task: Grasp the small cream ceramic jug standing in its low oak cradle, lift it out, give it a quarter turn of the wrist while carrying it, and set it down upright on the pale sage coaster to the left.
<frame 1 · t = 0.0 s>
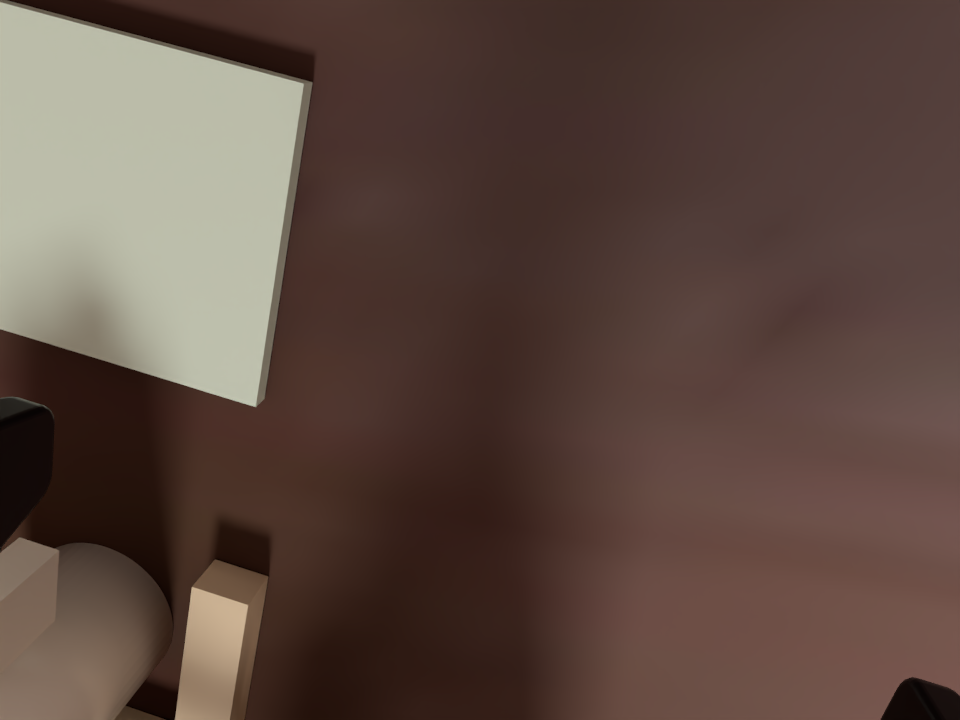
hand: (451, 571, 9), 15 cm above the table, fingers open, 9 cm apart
sage coaster: (132, 207, 25), on the table
cream jug: (11, 672, 25), in the oak cradle
oak cradle: (100, 611, 30), on the table
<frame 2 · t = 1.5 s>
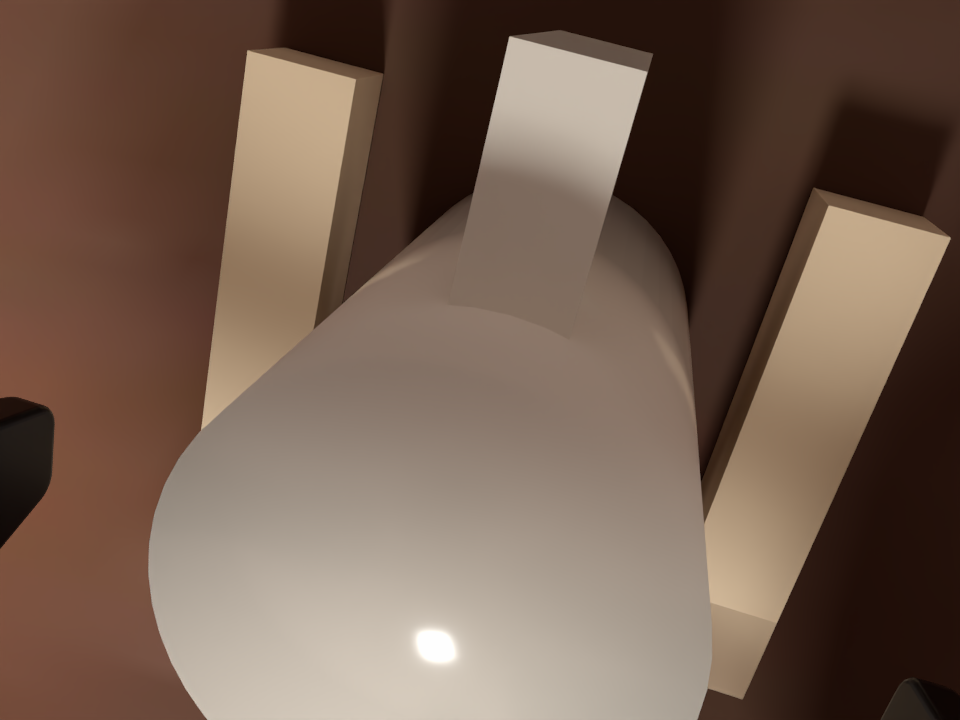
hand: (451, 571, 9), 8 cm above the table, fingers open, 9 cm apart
cream jug: (520, 343, 12), in the oak cradle
oak cradle: (540, 320, 16), on the table
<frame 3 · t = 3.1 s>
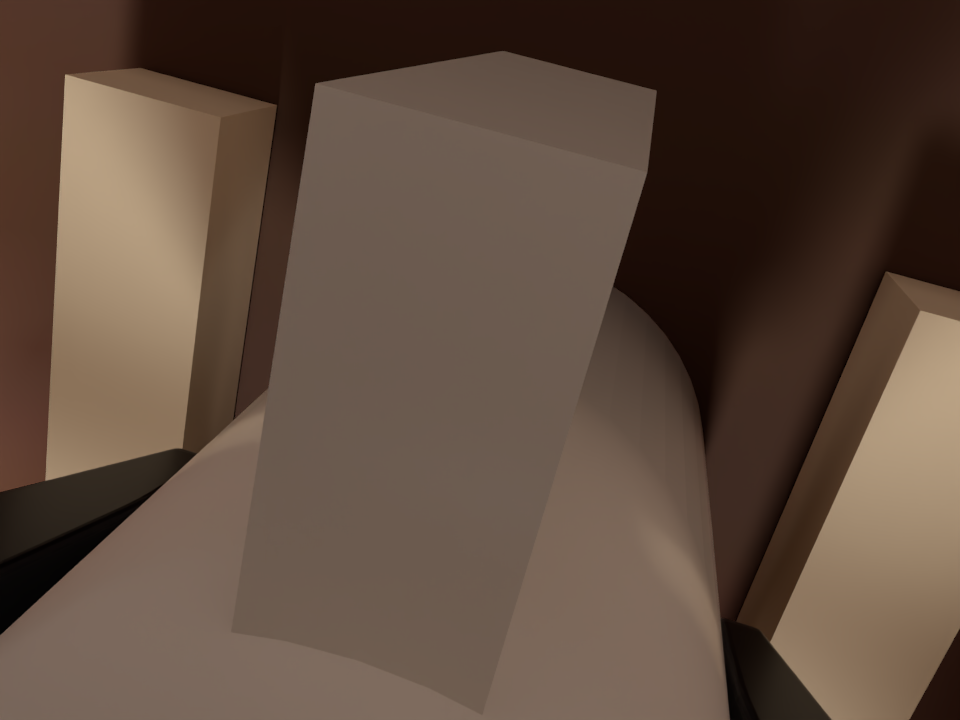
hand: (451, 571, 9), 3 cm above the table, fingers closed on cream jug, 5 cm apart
cream jug: (443, 552, 7), in the oak cradle, touching gripper
oak cradle: (501, 442, 12), on the table
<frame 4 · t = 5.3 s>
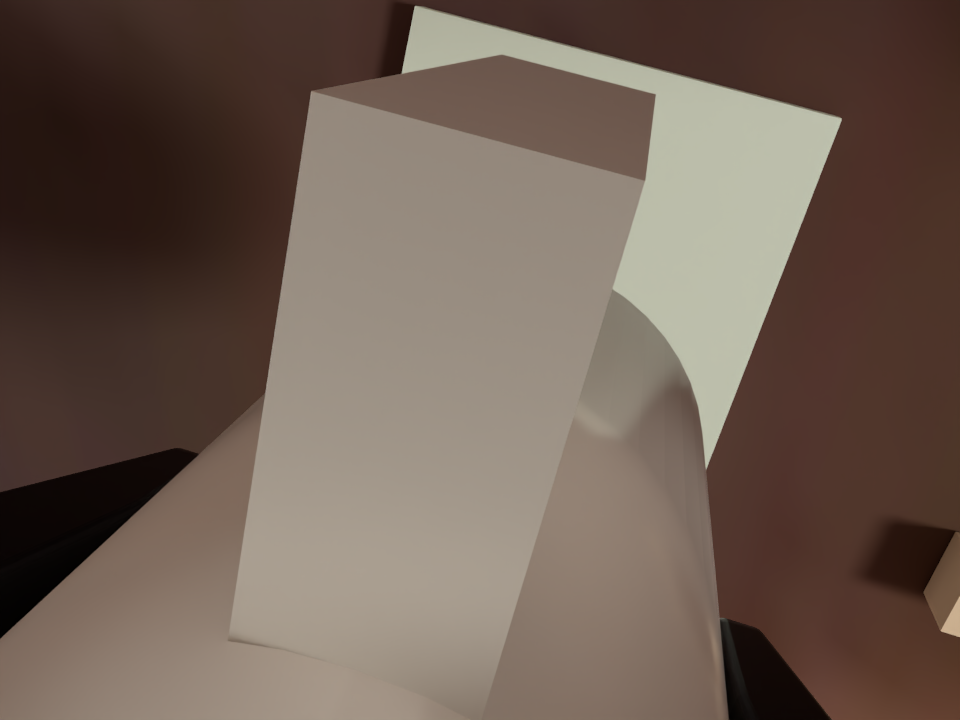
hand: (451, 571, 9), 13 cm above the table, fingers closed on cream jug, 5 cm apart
sage coaster: (567, 260, 21), on the table
cream jug: (442, 557, 7), point 14 cm above the table, touching gripper
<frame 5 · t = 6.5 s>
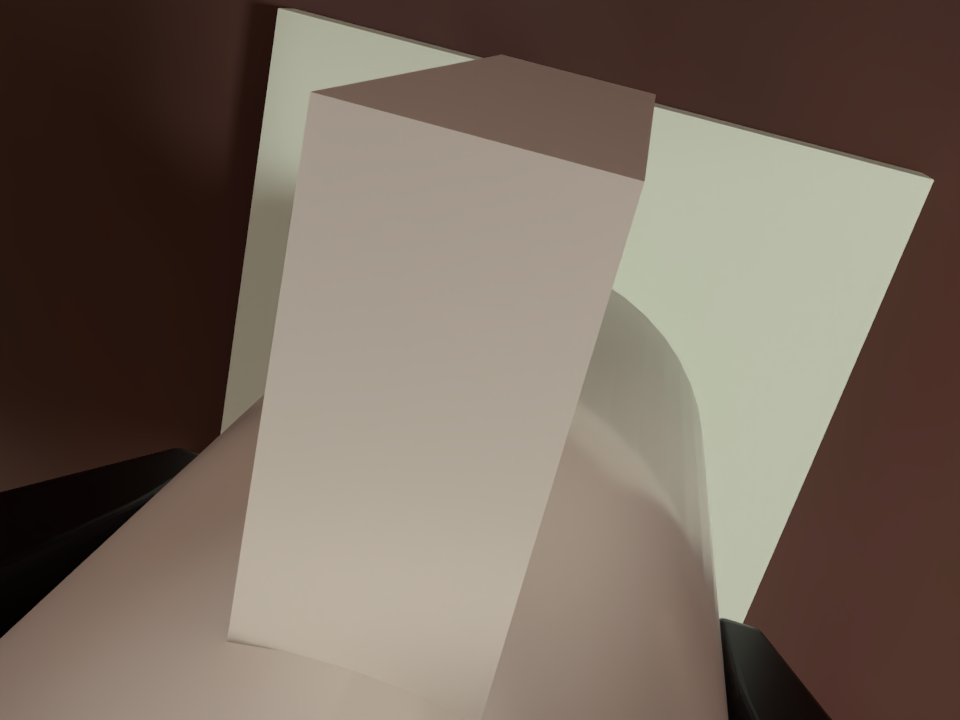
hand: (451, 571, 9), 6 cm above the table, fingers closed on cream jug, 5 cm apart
sage coaster: (519, 375, 14), on the table
cream jug: (441, 557, 7), point 7 cm above the table, touching gripper
when the fingers open (4 cm above the table, at t = 7.6 s): cream jug stays where it is, resting on sage coaster.
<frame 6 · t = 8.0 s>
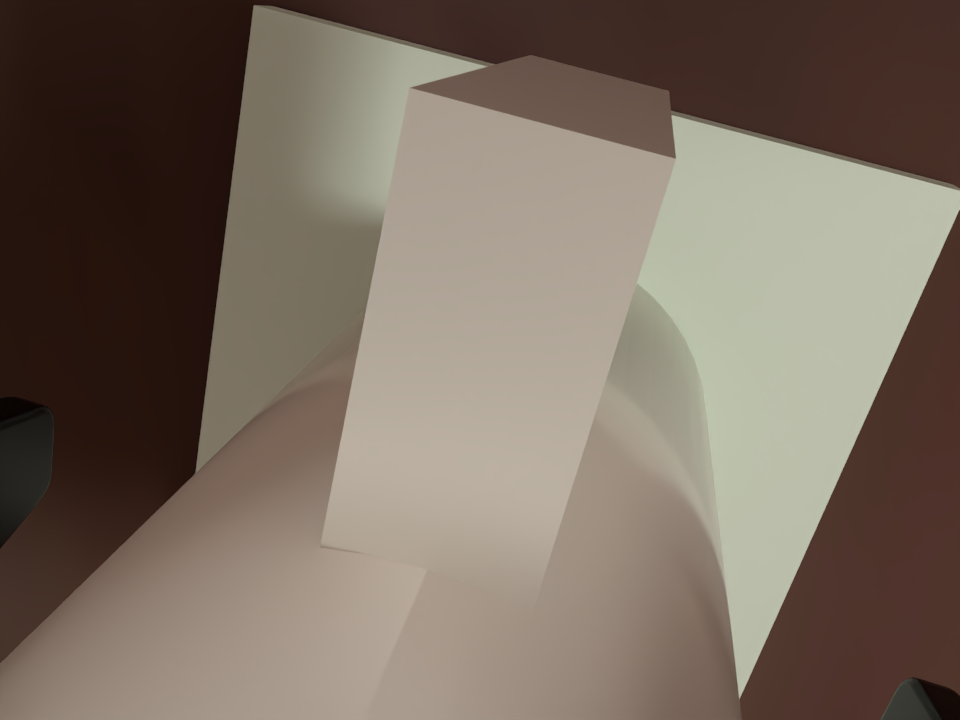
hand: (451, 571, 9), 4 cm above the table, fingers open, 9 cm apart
sage coaster: (515, 399, 13), on the table
cream jug: (475, 507, 8), on the sage coaster, point 5 cm above the table
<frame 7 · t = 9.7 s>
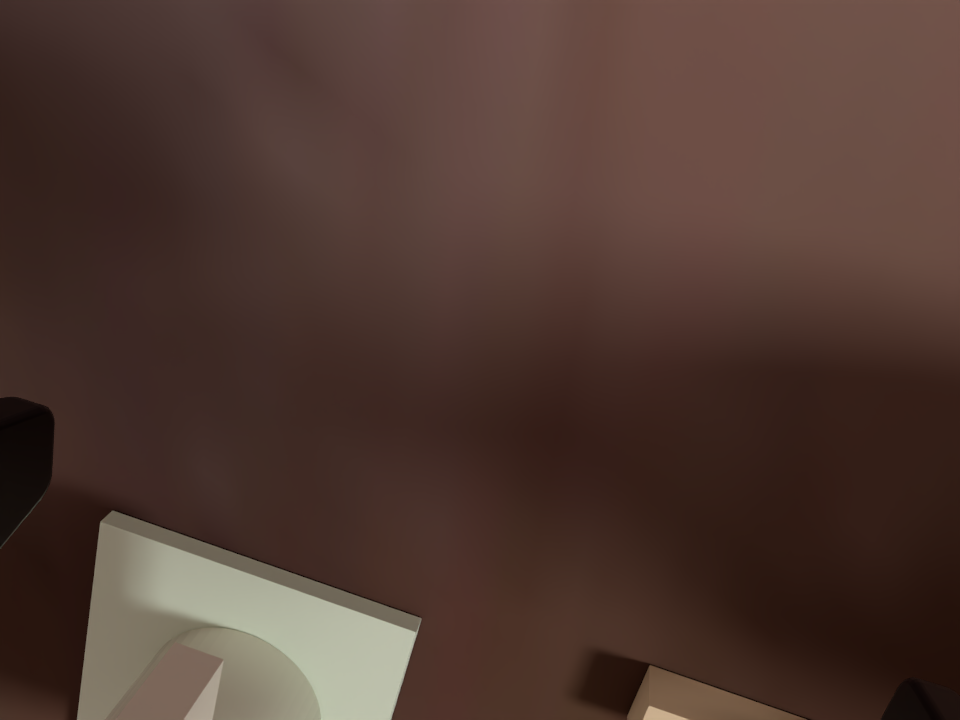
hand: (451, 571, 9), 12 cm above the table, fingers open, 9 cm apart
sage coaster: (239, 687, 26), on the table
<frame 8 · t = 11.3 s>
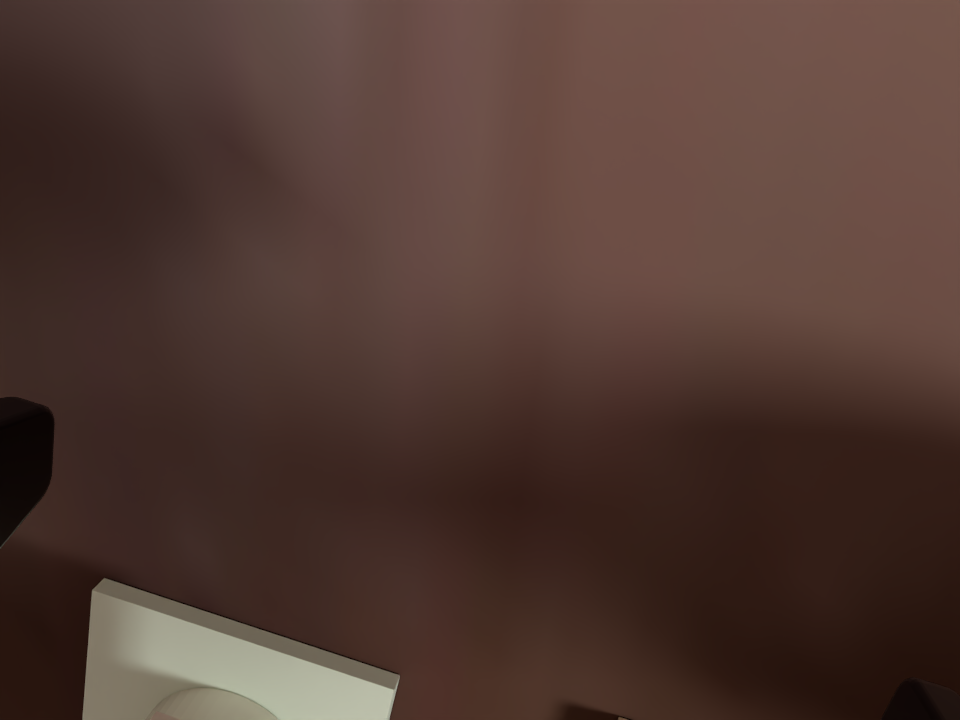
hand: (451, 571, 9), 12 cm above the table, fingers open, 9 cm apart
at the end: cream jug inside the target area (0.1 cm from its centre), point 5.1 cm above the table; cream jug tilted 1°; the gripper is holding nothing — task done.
